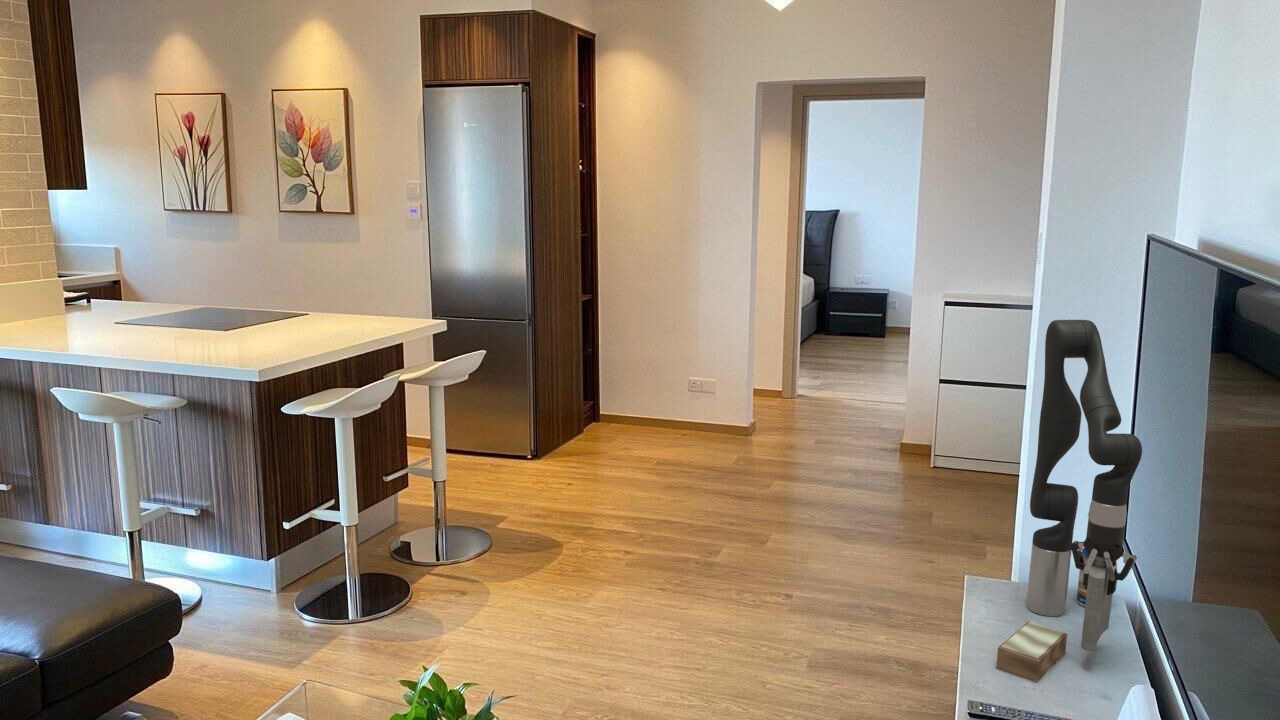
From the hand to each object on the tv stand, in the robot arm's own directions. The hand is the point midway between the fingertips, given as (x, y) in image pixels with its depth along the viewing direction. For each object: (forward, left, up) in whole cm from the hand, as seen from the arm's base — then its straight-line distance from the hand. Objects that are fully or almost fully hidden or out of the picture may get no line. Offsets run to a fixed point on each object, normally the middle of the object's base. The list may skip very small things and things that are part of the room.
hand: (1098, 590), depth 218 cm
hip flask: (0, 0, -12) cm, 12 cm away
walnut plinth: (+11, -9, -16) cm, 22 cm away
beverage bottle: (-31, -9, -17) cm, 36 cm away
